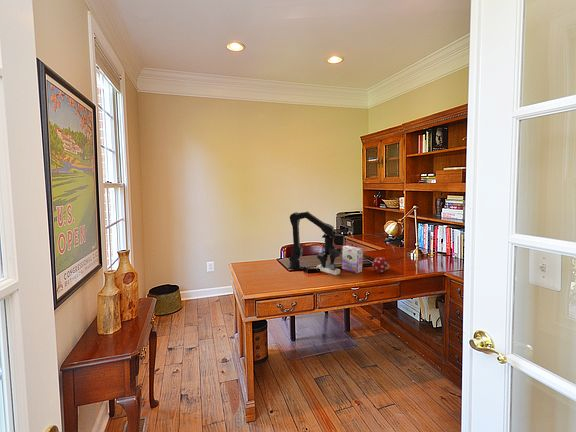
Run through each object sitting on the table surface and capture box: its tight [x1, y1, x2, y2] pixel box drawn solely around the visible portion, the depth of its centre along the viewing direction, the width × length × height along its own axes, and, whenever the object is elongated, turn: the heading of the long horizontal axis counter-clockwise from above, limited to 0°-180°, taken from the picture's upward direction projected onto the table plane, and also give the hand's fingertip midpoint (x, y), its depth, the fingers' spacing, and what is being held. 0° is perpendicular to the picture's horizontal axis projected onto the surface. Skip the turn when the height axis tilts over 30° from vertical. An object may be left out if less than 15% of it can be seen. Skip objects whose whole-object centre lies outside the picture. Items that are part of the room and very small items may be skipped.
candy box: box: [341, 244, 364, 274], centre depth 224 cm, size 14×6×16 cm, turn 41°
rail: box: [316, 264, 341, 276], centre depth 221 cm, size 16×5×3 cm, turn 48°
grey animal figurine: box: [320, 261, 337, 270], centre depth 221 cm, size 11×3×6 cm, turn 48°
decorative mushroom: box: [372, 256, 390, 274], centre depth 223 cm, size 11×11×15 cm
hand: (328, 266), depth 221 cm, fingers open, 9 cm apart
